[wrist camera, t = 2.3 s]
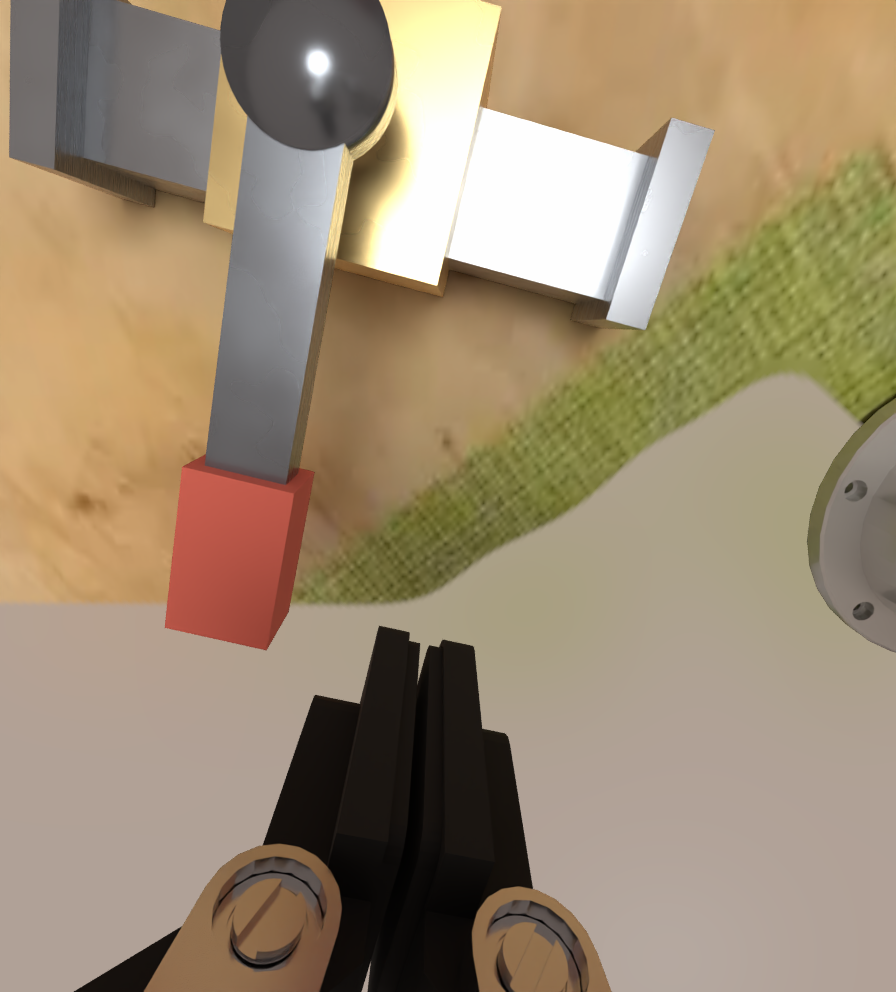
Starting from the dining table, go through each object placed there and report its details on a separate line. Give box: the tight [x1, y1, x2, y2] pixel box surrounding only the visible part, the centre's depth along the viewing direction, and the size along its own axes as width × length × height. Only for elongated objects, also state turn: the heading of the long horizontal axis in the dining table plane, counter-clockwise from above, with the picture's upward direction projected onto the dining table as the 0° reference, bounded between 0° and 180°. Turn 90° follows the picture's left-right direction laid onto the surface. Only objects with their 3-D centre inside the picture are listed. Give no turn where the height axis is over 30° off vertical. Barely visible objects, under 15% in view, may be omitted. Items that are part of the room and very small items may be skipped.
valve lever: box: [165, 0, 398, 650], centre depth 12 cm, size 14×3×2 cm, turn 166°
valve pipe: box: [9, 0, 715, 330], centre depth 15 cm, size 18×6×9 cm, turn 76°
